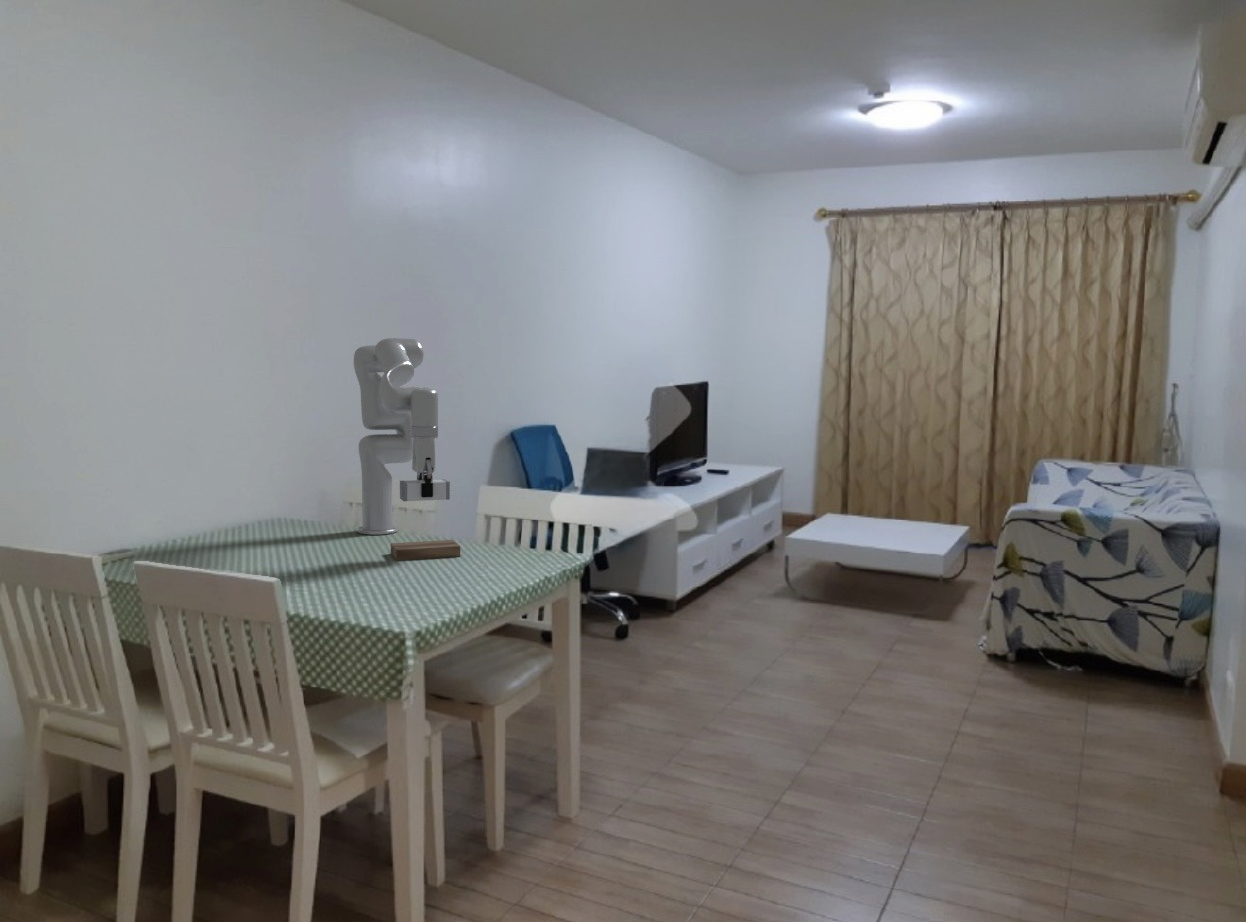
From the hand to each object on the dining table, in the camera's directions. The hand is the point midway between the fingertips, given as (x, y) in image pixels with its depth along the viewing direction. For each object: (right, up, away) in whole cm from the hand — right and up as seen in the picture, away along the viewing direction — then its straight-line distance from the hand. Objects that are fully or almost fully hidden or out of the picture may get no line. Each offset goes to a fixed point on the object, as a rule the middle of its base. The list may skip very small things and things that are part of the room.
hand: (424, 494), depth 274 cm
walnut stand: (0, -17, +2) cm, 17 cm away
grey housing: (0, -1, 0) cm, 1 cm away
